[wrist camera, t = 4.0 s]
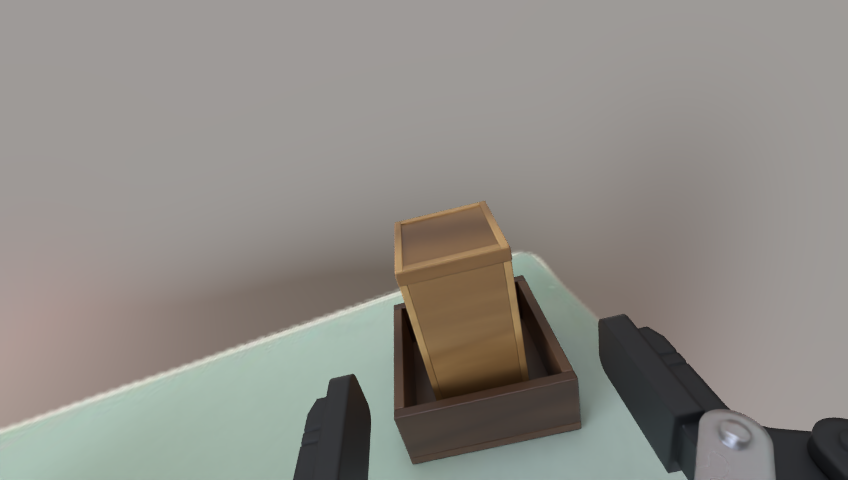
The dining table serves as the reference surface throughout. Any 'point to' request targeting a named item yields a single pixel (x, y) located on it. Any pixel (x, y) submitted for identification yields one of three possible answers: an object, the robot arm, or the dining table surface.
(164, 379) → the dining table surface
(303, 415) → the dining table surface
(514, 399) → the wide basket
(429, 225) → the tall wooden box
